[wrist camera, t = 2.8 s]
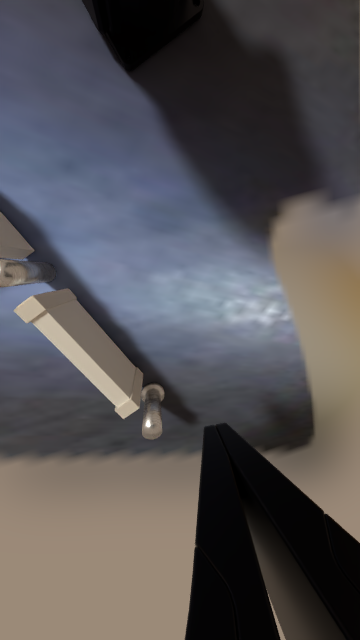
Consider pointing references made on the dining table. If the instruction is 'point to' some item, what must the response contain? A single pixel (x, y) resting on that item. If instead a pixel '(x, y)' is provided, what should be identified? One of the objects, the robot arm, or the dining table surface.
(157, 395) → the post
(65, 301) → the gate
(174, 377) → the dining table surface
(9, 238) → the fence panel
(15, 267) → the hinge post
